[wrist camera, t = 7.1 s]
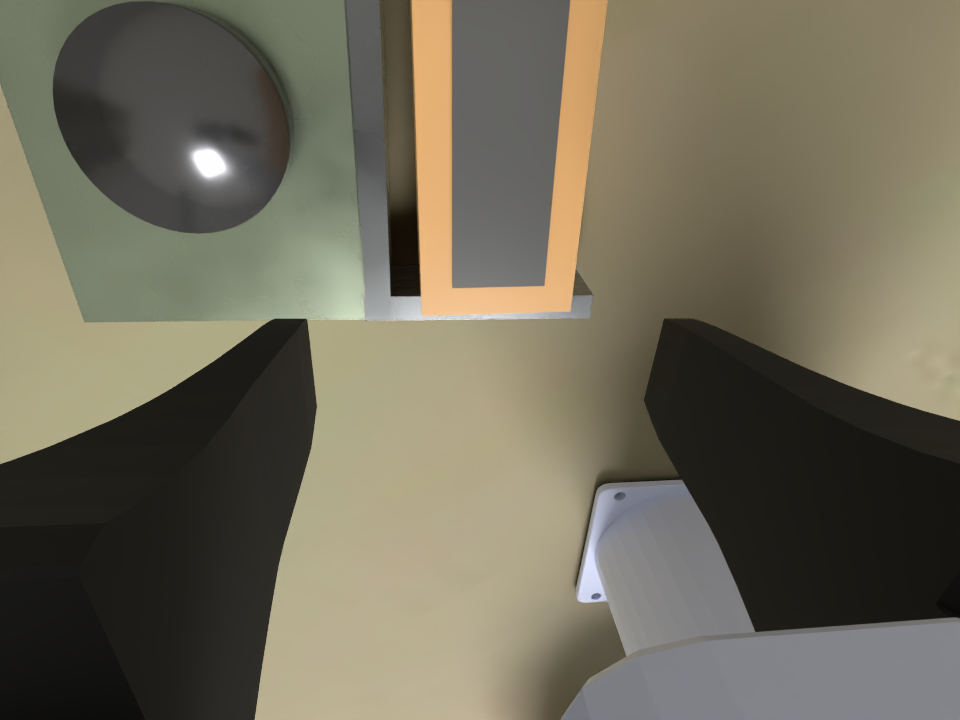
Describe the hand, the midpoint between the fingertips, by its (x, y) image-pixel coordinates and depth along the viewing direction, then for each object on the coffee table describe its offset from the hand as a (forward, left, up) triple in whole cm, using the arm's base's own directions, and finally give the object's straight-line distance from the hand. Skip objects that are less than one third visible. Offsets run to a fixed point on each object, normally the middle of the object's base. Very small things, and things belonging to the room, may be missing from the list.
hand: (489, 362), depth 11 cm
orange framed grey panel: (-1, -3, -9) cm, 9 cm away
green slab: (+3, -3, -9) cm, 10 cm away
